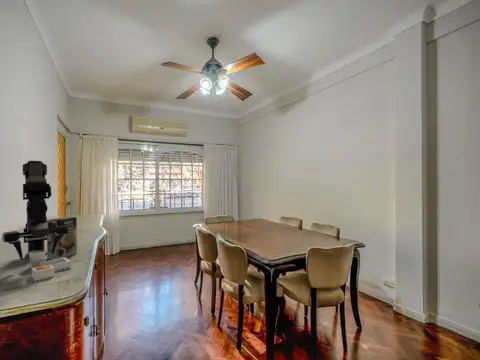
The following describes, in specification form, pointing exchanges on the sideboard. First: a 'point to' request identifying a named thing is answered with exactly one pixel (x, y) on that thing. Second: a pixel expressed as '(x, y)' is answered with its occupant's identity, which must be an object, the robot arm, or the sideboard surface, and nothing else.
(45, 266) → the button
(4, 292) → the sideboard surface
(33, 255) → the billet
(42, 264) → the white square tray
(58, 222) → the coffee box
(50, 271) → the button housing
